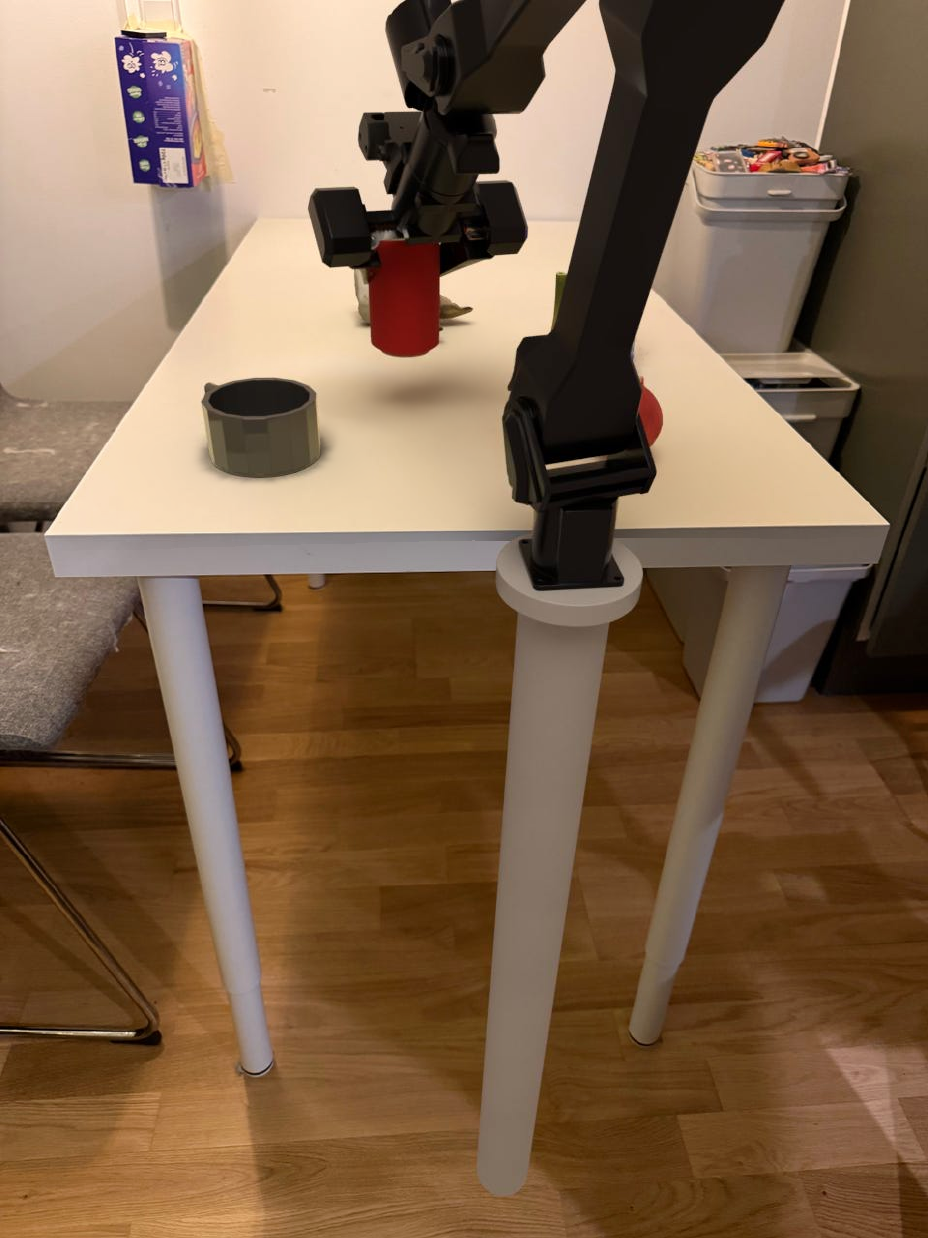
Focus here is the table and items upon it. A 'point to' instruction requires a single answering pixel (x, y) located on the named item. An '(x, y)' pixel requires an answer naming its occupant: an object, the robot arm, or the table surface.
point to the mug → (261, 426)
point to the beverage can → (406, 299)
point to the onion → (650, 414)
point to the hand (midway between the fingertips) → (399, 276)
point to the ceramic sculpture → (362, 294)
